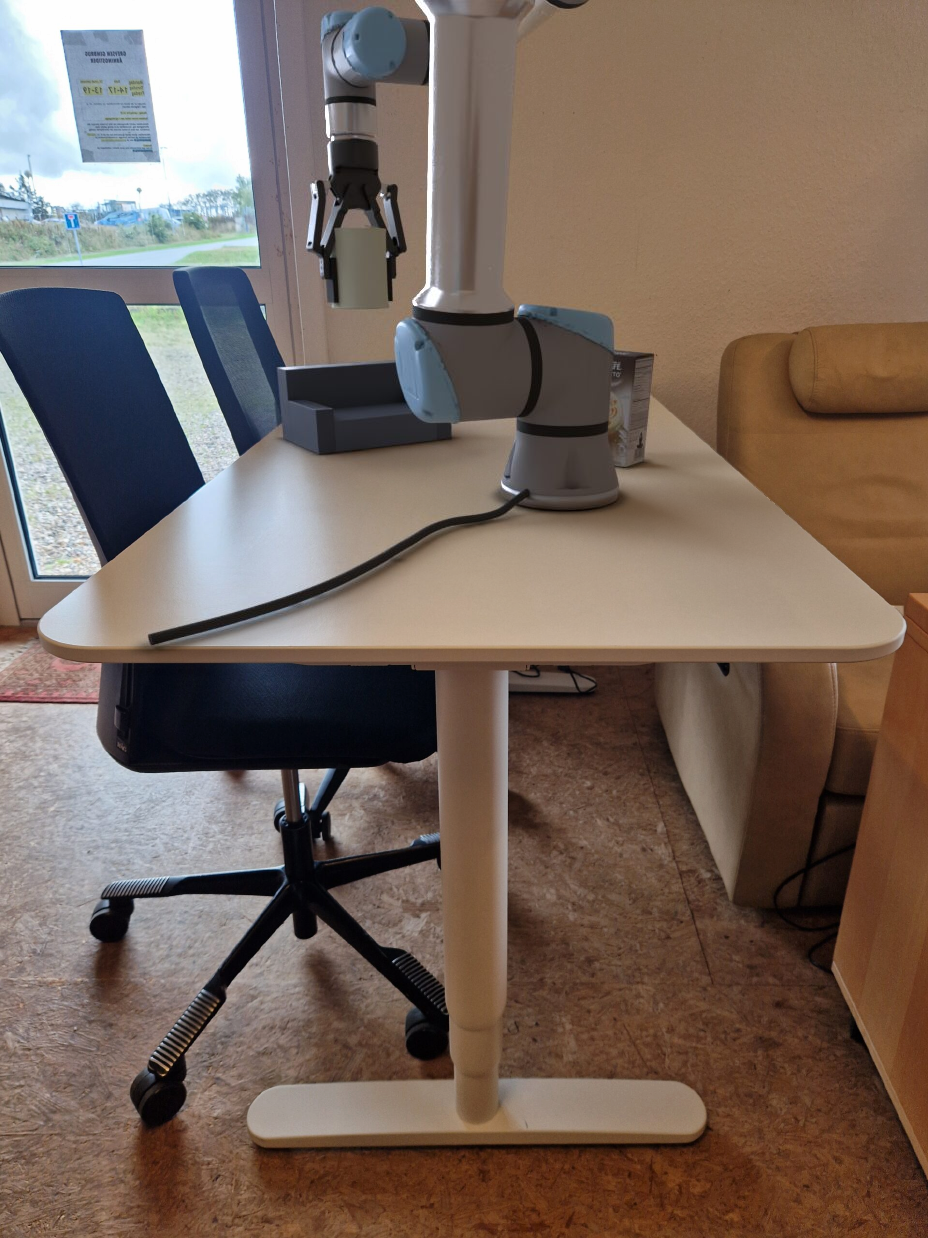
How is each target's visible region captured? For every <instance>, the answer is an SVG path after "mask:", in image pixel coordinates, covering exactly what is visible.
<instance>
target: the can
mask: <svg viewBox="0 0 928 1238" xmlns="http://www.w3.org/2000/svg"><path fill="white" fill-rule="evenodd" d="M334 230H335V240H336V242H335V245H334V247H333V250H332V253H331V255H330V257H336V265H337V282H338V299H339V303H331V309H335V310H382V309H389V308H390V304H389V303H390V302H389V301H388V289H387V262H386V229H383V228H378V227H373V226H371V225H368V224H365V225H364V227H341V228H334Z"/></svg>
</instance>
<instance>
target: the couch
mask: <svg viewBox="0 0 928 1238" xmlns="http://www.w3.org/2000/svg"><path fill="white" fill-rule="evenodd" d="M276 371H277V372H276V373H277V383H278V394H279V406H280V413H281V414H280V416H281V428H282V437H283V439H284V440H285V441H288V442H290V443H292V444H295V445H297V446H299V447H302V448H303V449H306V450H307V451H310V452H313V453H314V454H317V455H325V454H327V455H328V454H335V453H342V452H351V451H357V450H367V449H368V450H369V449H376V448H383V447H391V446H400V445H408V444H416V443H426V442H433V441H440V440H449V439H452V433H453V432H452V425H453V424H451V423H427V422H424V421H422V420H420V419H419V418H418V417H417V416H416V415H415V414H414V413H413V412H412V410H411V409H410V407H409V405H408V403H407V401H406V399H405V397H404V394H403V391H402V388H401V385H400V381H399V377H398V372H397V367H396V360H395V359H389V360H388V359H387V360H374V361H373V360H372V361H358V362H344V363H343V362H342V363H327V364H311V365H296V366H280V367H276Z"/></svg>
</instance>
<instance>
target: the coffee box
mask: <svg viewBox="0 0 928 1238" xmlns="http://www.w3.org/2000/svg"><path fill="white" fill-rule="evenodd" d="M614 350H615V356H613V366H612V381H611V395H610V409H609V423H608V441H609V445H610V449H611V453H612V457H613V461H614V465H615V467H621V468H627V467H631V466H634V465H636V464H638V463H641V462H643V461H645V453H646V442H647V434H648V423H649V413H650V405H651V404H650V403H651V392H652V384H653V383H652V382H653V372H654V363H655V353H652V352H642V351H641V352H640V351H630V350H619V349H614Z"/></svg>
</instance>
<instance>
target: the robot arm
mask: <svg viewBox="0 0 928 1238" xmlns="http://www.w3.org/2000/svg"><path fill="white" fill-rule="evenodd" d="M589 1H590V0H415V1H414V2H415V3H416V4H417V6H418V7H419V8H420V10H421V11H422V12H423V14H424V15H425V16H426V18H427V19H419V18H410V17H409V18H408V17H400V16H397V15H395V13H393V11H391V10H389V9H388V8H386V7H384V6H380V5H372V6H369V7H365V8H363V9H362V10H361V11H356V10H336V11H332V12H328V13H326V14H324V16H323V17H322V19H321V25H320V27H321V30H320V31H321V33H320V34H321V35H320V36H321V39H320V48H321V49H320V50H321V56H322V71H323V72H322V73H323V87H324V102H325V120H326V136H327V137H328V138H329V139H331V140H329V142H328V143H327V155H328V157H327V159H328V168H329V175H328V178H327V180H322V179H318V180H313V181H311V182H310V183H309V184H310V185H309V188H310V193H311V198H312V199H311V206H310V207H311V208H310V214H309V215H310V216H309V225H308V231H307V239H306V240H307V241H306V251H307V252H308V253H311V254H314V255H316V257H317V258H318V261H319V274H320V275H319V276H320V278H321V280H325V286H326V288H325V289H326V300H327V301H326V303H331V304H332V303H339V299H338V282H337V265H336V257H330V255H331V253H332V250H333V247H334V245H335V242H336V240H335V230H334V228H342V225H343V222H344V219H345V216H346V215H347V213H348V212H349V211H351V210H356V211H362V212H363V214H364V216H366V218H367V219H368V222H369V225H370V226H373V227H378V228H383V229H386V262H387V289H388V302H393V301H394V291H393V280H396V278H397V258H398V257H399V256H400V255H401V254H405V253H406V252H407V250H408V247H407V246H408V245H407V242H406V237H405V233H404V226H403V222H402V218H401V212H400V207H399V204H398V203H399V202H398V193H399V192H398V191H399V187H398V185H397V184H396V183H392V184H387V183H384V182H382V181H381V179H380V176H379V168H380V165H379V163H380V162H379V145H378V144H377V141H375V140H376V139H377V138H378V136H379V135H378V112H377V111H378V110H377V86H376V84H377V83H383V84H394V85H406V86H407V85H409V86H423V87H428V89H429V90H428V103H429V104H428V143H427V144H428V151H427V156H428V157H427V206H426V207H427V208H426V209H427V210H426V211H427V213H426V215H427V216H426V217H427V218H426V269H425V270H426V272H425V273H426V274H425V284H424V286H423V288H422V289H421V290H420V292H418V294H417V295H416V296H415V297H414V298H413V299H412V306H411V307H412V308H411V309H412V310H411V311H412V316H411V317H406V318H405V319H403V320H401V321H400V322H399V323H398V324H397V325H396V329H395V335H394V343H393V345H394V348H393V349H394V360H396V367H397V372H398V377H399V381H400V385H401V388H402V391H403V394H404V397H405V399H406V401H407V403H408V405H409V407H410V409H411V410H412V412H413V413H414V414H415V415H416V416H417V417H418V418H419V419H420V420H422V421H424V422H427V423H451V424H452V425H458V424H459V423H466V422H478V421H479V422H480V421H490V420H491V421H493V420H503V419H505V420H506V419H516V423H515V424H516V428H515V429H516V430H515V438H514V441H513V444H512V447H511V449H510V453H509V456H508V458H507V461H506V464H505V468H504V469H503V470H504V471H503V474H502V477H501V480H500V495H501V497H502V498H503V499H504V500H506V502H505V503H504V504H503V505H502V506H500V507H498V508H496V509H494V510H491V511H486V512H483V513H476V514H469V515H468V514H467V515H460V516H454V517H450V518H445V519H442V520H439V521H436V522H434V523H431V524H429V525H427V526H425V527H422V528H421V529H420V530H418V531H416V532H415V533H413V534H412V535H410V536H408V537H406V538H405V539H402V540H400V541H399V542H397V543H395V544H394V545H392V546H391V547H389V548H387V549H386V550H384V551H382V552H381V553H379V554H377V555H375V556H374V557H372V558H370V559H368V560H366V561H365V562H362V563H360V564H358V565H356V566H354V567H352V568H350V569H349V570H347V571H344V572H342V573H340V574H338V575H336V576H334V577H331V578H329V579H327V580H324V581H322V582H320V583H317V584H315V585H312V586H310V587H307V588H304V589H301V590H299V591H297V592H294V593H291V594H288V595H285V596H282V597H279V598H276V599H273V600H269V601H266V602H264V603H260V604H257V605H254V606H250V607H247V608H243V609H240V610H236V611H233V612H229V613H225V614H223V615H218V616H215V617H212V618H207V619H204V620H200V621H195V622H191V623H187V624H183V625H181V626H176V627H171V628H168V629H164V630H159V631H155V632H151V633H148V634H147V639H148V642H149V645H150V646H155V645H159V644H162V643H166V642H171V641H174V640H178V639H182V638H186V637H190V636H194V635H197V634H201V633H207V632H210V631H212V630H217V629H221V628H223V627H227V626H231V625H234V624H237V623H241V622H244V621H247V620H251V619H255V618H258V617H261V616H264V615H267V614H270V613H273V612H276V611H280V610H282V609H285V608H288V607H291V606H294V605H297V604H301V603H302V602H304V601H308V600H310V599H312V598H315V597H318V596H320V595H322V594H324V593H328V592H329V591H331V590H334V589H336V588H339V587H340V586H343V585H344V584H347V583H348V582H349V583H350V582H351V581H353V580H355V579H356V578H358V577H361V576H363V575H365V574H367V573H368V572H370V571H372V570H373V569H376V568H377V567H379V566H380V565H382V564H384V563H386V562H387V561H389V560H390V559H392V558H394V557H395V556H397V555H399V554H400V553H402V552H403V551H406V550H407V549H409V548H410V547H413V546H414V545H416V544H417V543H419V542H420V541H422V540H423V539H425V538H427V537H428V536H430V535H432V534H433V533H436V532H438V531H440V530H443V529H446V528H450V527H453V526H460V525H467V524H475V523H481V522H486V521H491V520H493V519H497V518H499V517H502V516H504V515H505V514H507V513H508V512H509V511H511V510H512V509H513V508H514V507H515V506H517V505H518V506H523V507H527V508H532V509H541V510H553V511H575V510H576V511H577V510H579V511H580V510H589V509H595V508H596V509H597V508H600V507H605V506H607V505H610V504H613V503H614V502H615V501H616V500H617V499H618V498H619V486H620V482H619V478H618V474H617V470H616V466H615V465H614V461H613V457H612V453H611V449H610V445H609V441H608V423H609V409H610V395H611V381H612V366H613V356H615V350H616V349H615V328H614V323H613V320H612V319H611V318H610V317H609V316H608V315H607V314H604V313H601V312H595V311H588V310H581V309H575V308H574V309H573V308H566V307H558V306H557V307H556V306H550V305H549V306H548V305H541V304H540V305H538V304H530V303H521V305H520V306H519V308H518V310H517V312H516V316H515V310H516V309H515V308H516V304H515V302H514V301H513V300H512V299H511V297H510V296H509V295H508V293H506V291H505V289H504V287H503V286H504V268H505V254H506V253H505V249H506V234H507V216H508V204H509V203H508V201H509V184H510V169H511V168H510V166H511V165H510V164H511V151H512V149H511V148H512V132H513V118H514V117H513V115H514V114H513V113H514V99H515V98H514V97H515V81H516V80H515V79H516V63H517V48H518V45H519V44H520V43H521V42H523V41H524V39H526V38H527V37H529V36H530V35H531V34H532V33H534V32H535V31H536V30H537V29H539V28H540V27H541V26H542V25H544V24H545V23H546V22H547V21H549V20H550V19H551V18H552V17H553V16H554V15H556V14H557V13H558V12H560V11H561V10H563V11H570V10H575V9H579V8H581V7H582V6H584V5H585V4H587V3H588V2H589ZM329 192H331V194H332V196H333V197H334V198H335V199H334V200H333V204H332V207H331V213H330V216H329V219H328V222H327V225H326V227H325V230H324V233H323V228H324V222H325V221H324V220H325V211H326V205H327V196H328V195H329ZM379 193H380V197H381V199H382V201H383V207H384V212H385V217H386V221H387V225H386V223H385V221H384V219H383V216H382V213H381V208H380V205H379V202H378V201H377V196H378V195H379ZM322 235H323V236H322Z"/></svg>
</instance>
